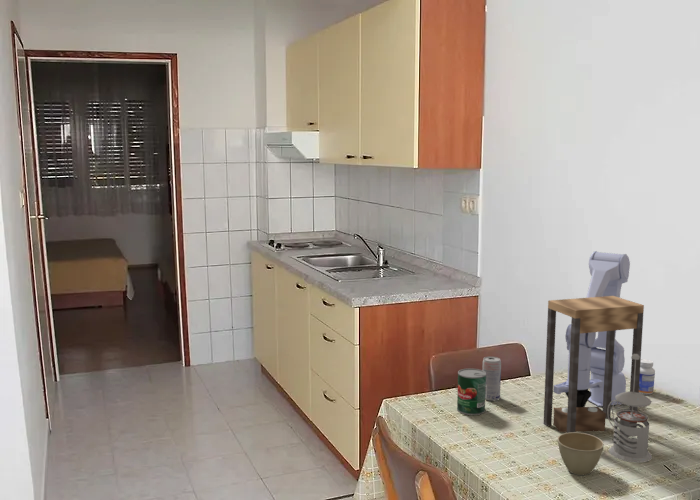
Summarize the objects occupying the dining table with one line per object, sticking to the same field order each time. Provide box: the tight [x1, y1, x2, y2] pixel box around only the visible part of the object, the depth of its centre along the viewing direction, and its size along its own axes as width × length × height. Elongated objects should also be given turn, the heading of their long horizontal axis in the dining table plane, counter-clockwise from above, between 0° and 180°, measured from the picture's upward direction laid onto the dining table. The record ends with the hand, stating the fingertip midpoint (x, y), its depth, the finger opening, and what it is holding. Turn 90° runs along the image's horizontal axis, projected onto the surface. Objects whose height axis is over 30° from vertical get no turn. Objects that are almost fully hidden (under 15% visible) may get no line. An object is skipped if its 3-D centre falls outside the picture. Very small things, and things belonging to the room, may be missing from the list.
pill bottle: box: [639, 358, 656, 396], centre depth 208 cm, size 5×5×10 cm
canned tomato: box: [456, 368, 486, 416], centre depth 194 cm, size 8×8×11 cm
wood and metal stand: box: [543, 296, 645, 433], centre depth 179 cm, size 20×12×34 cm, turn 106°
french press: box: [607, 354, 653, 464], centre depth 165 cm, size 10×12×25 cm
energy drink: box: [482, 356, 502, 402], centre depth 203 cm, size 5×5×12 cm
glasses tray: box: [552, 406, 607, 433], centre depth 181 cm, size 12×5×6 cm, turn 93°
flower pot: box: [557, 432, 604, 476], centre depth 157 cm, size 10×10×7 cm
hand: (576, 415), depth 186 cm, fingers closed
